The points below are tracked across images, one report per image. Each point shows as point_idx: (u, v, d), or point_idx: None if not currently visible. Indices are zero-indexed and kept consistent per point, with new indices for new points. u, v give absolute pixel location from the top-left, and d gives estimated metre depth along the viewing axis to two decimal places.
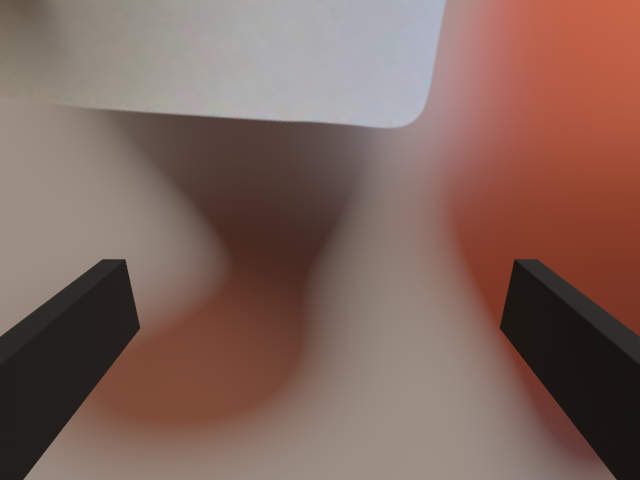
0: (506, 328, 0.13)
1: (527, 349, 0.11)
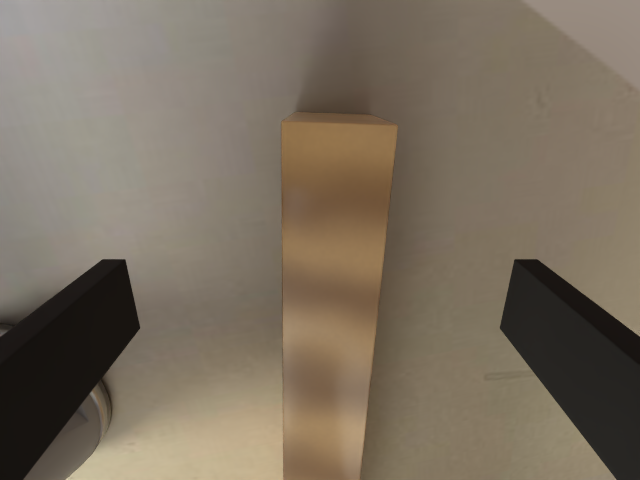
0: (506, 328, 0.13)
1: (527, 349, 0.11)
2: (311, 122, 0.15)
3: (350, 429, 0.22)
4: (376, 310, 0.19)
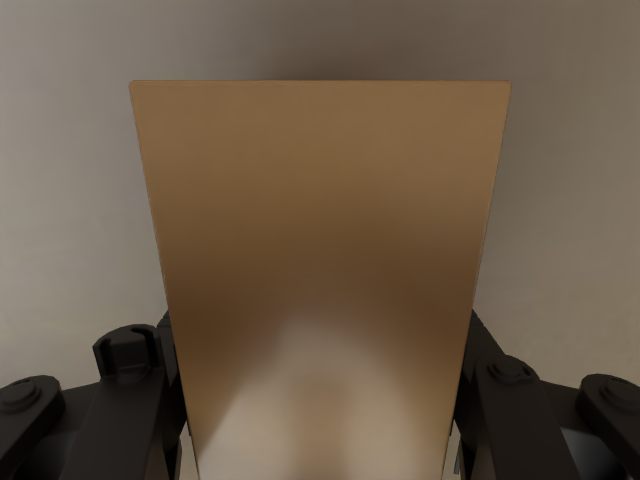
0: None
1: None
2: (227, 82, 0.05)
3: None
4: None
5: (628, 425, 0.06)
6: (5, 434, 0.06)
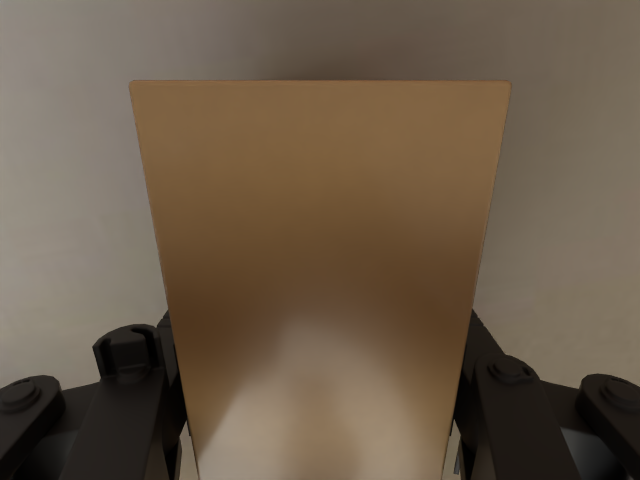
0: None
1: None
2: (227, 82, 0.05)
3: None
4: None
5: (628, 425, 0.06)
6: (5, 434, 0.06)
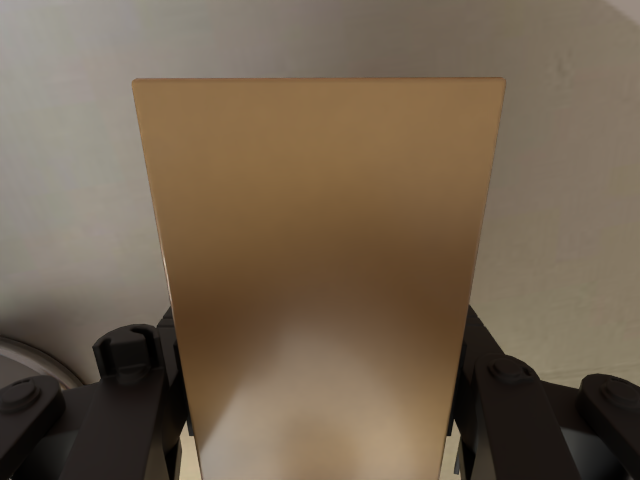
0: None
1: None
2: (227, 80, 0.05)
3: None
4: None
5: (628, 425, 0.06)
6: (5, 434, 0.06)
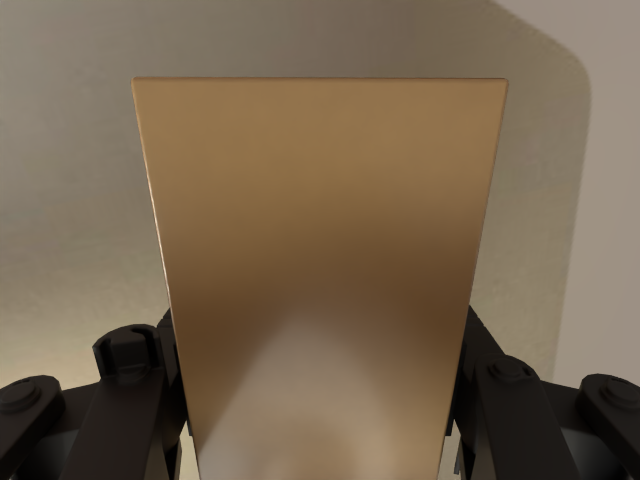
0: None
1: None
2: (227, 79, 0.05)
3: None
4: None
5: (628, 425, 0.06)
6: (5, 434, 0.06)
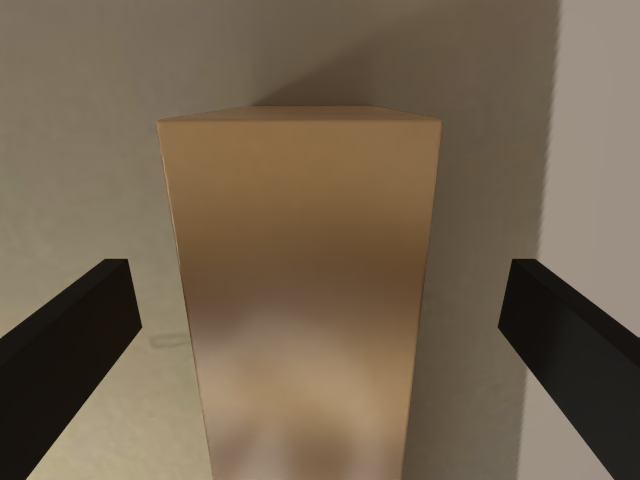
0: (504, 327, 0.13)
1: (525, 348, 0.11)
2: (229, 121, 0.06)
3: None
4: None
5: None
6: None
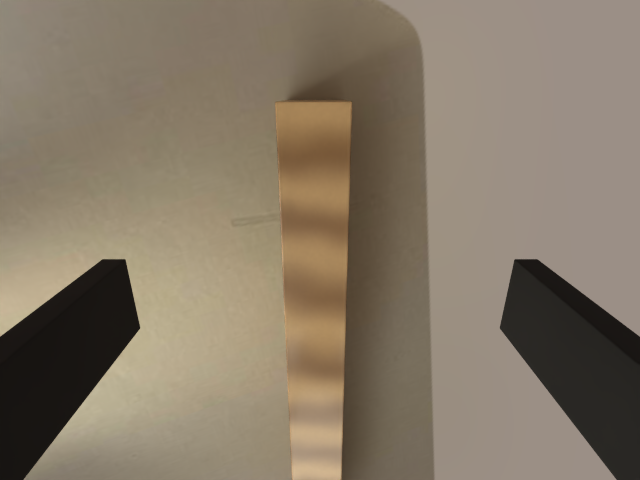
0: (506, 328, 0.13)
1: (527, 349, 0.11)
2: (295, 102, 0.23)
3: (334, 329, 0.30)
4: (346, 234, 0.27)
5: None
6: None
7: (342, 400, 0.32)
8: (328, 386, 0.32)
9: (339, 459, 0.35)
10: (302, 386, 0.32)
